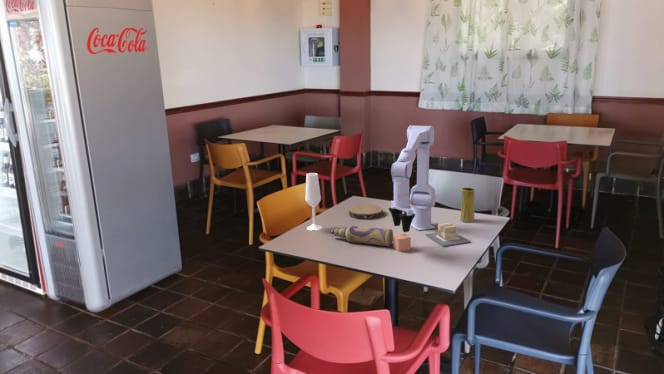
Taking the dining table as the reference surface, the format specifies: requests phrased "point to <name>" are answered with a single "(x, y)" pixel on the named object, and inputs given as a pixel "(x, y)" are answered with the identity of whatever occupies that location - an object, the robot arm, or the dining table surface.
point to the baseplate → (450, 242)
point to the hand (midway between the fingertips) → (401, 228)
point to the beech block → (447, 231)
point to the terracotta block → (401, 242)
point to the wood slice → (366, 211)
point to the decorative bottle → (366, 235)
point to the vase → (467, 205)
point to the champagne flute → (313, 196)
